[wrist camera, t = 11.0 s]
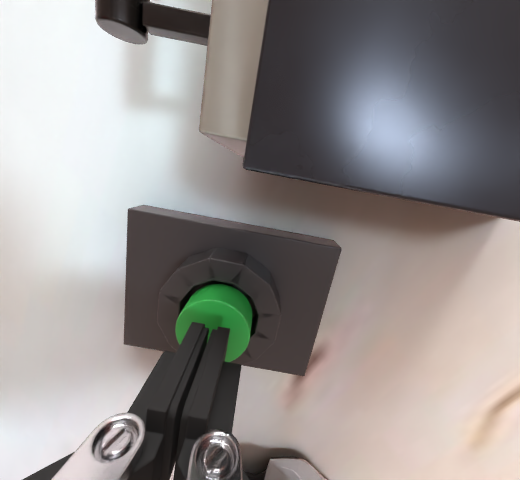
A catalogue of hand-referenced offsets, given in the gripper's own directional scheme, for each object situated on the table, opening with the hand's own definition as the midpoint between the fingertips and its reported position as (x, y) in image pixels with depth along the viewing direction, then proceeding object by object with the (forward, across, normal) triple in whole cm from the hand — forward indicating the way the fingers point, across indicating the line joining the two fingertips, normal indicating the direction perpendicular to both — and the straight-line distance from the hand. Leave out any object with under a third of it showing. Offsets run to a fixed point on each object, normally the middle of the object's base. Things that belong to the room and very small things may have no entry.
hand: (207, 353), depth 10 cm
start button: (+3, 0, 0) cm, 3 cm away
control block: (+6, 0, 0) cm, 6 cm away
